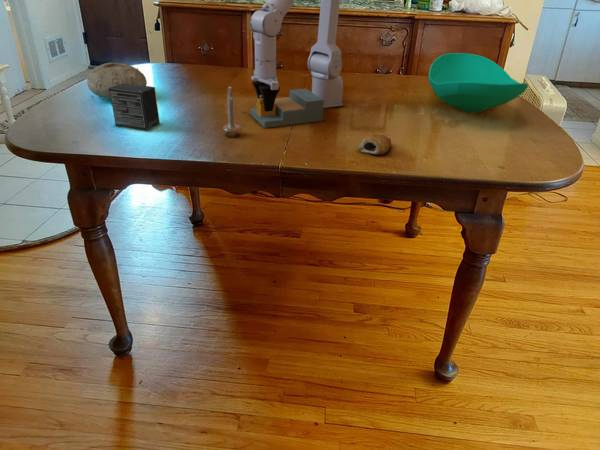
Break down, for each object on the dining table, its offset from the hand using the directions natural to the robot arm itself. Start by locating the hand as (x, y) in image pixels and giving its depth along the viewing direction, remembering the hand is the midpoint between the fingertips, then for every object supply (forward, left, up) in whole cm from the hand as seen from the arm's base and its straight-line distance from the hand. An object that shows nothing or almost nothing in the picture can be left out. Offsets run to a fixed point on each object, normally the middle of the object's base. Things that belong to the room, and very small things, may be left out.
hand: (266, 108), depth 130 cm
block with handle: (0, 0, -2) cm, 2 cm away
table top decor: (-65, +12, -4) cm, 66 cm away
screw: (+13, +8, -4) cm, 15 cm away
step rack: (-6, 0, -3) cm, 7 cm away
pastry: (-18, +30, -4) cm, 35 cm away
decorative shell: (+37, -36, -4) cm, 52 cm away
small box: (+35, -8, -4) cm, 36 cm away
